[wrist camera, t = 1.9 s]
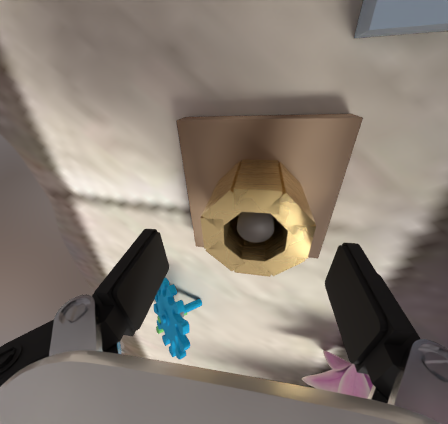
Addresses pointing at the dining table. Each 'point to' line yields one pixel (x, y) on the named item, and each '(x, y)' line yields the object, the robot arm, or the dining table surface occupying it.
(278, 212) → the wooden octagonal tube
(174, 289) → the gear
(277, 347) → the dining table surface
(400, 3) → the hub plate
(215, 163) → the rod stand
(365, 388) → the lily
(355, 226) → the dining table surface
